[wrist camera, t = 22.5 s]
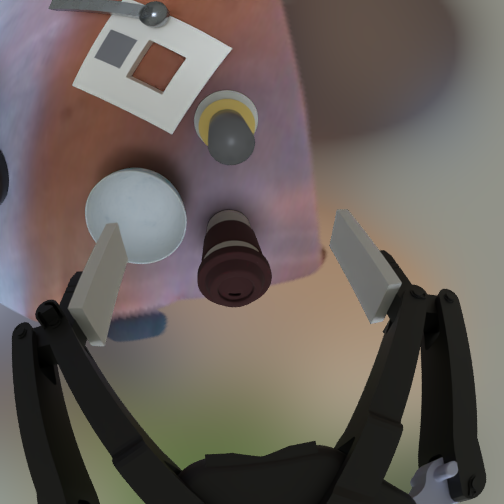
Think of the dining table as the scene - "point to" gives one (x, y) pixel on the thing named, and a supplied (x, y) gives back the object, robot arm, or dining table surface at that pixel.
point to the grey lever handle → (118, 9)
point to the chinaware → (138, 213)
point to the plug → (228, 131)
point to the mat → (223, 95)
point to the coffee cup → (232, 262)
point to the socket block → (130, 55)
